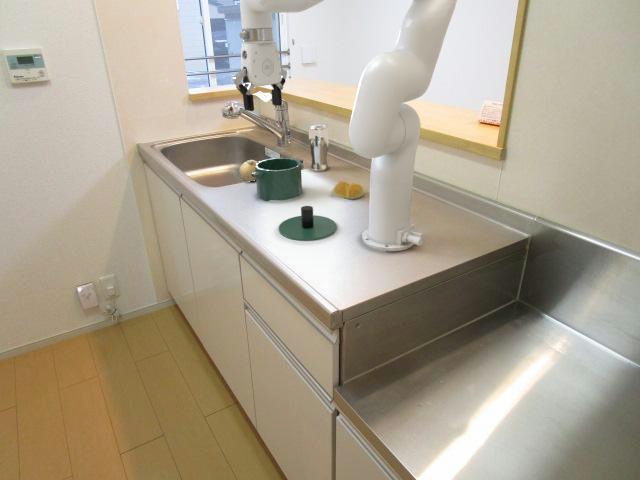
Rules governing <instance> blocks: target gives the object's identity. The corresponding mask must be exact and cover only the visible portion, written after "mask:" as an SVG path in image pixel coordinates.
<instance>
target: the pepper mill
mask: <svg viewBox="0 0 640 480" xmlns="http://www.w3.org/2000/svg"><path fill="white" fill-rule="evenodd" d="M329 144H330V134H329V126H328V125H326V124H312V125H309V126H308V145H309V150H310V155H311V165H310V169H311V171H313V172H326V171H327V170H328V169H329V165H328V151H329Z"/></svg>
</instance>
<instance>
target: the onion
mask: <svg viewBox="0 0 640 480" xmlns="http://www.w3.org/2000/svg"><path fill="white" fill-rule="evenodd" d="M258 162H259V161H256V160H255V159H250V160H246V161H244V162H243V163H242V164H241V165H240V167H239V169H238V170H239V171H238V173H239V176H240V178H241V179H242V180H244V181H247V182H251V181H252V182H254V181H256V178H255V177H252V176H251V173H254V172H255V164H256V163H258Z"/></svg>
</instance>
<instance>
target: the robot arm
mask: <svg viewBox="0 0 640 480" xmlns="http://www.w3.org/2000/svg"><path fill="white" fill-rule="evenodd" d="M324 1H325V0H238V2H239V12H240V13H239V14H240V22H241V24H240V25H241V31H240V33H239V38H240V39H242V43H241V46H240V47H241V48H240V71H238V72H237V73H236V74H235V75H234V76H233V77H232V81H233V83H234V85H235V88H236V89H237V90H238V92H239V93H240V94H241V95H242V101H243V109H244V111H247V112H254V111H255V102H254V101H255V100H254V95H253V94H252V92H253V90H254V88H255V87H263V86H269V85H270V86H271V87H272V89H271V104H272V105H273V106H277V107H281V106H282V105H283V98H282V97H283V96H282V91H283V89H284V85H285V83H286V78H287V75H288V71H287V70H286V69H284V68H282V65H281V59H280V58H281V57H280V51H279V48H278V44H277V42H276V41H274V28H273V26H274V25H273V14H281V13H291V14H293V13H301V12H304V11H307V10H309V9H311V8H313V7H314V6H317V5H319V4H320V3H322V2H324ZM457 2H458V0H412V2H411V4H410V6H409V8H408V9H407V11H406V13H405V15H404V17H403V18H402V22H401V25H400V27H399V33H398V37H397V39H396V42H395V45H394V48H393V50H392V51H388V52H383V53H380V54H378V55H375V56H374V57H373V58H371V60H370V61H369V62H368V63H367V65H366V66H365V68H364V70H363V71H362V73H361V76H360V81H359V82H358V88H357V92H356V95H355V100H354V104H353V108H352V113H351V117H350V120H349V121H350V122H349V127H348V139H349V144H350V147H351V148H352V150H353V152H355V153H356V154H357V155H358V156H360V157H361V158H364V159H371V162H370V169H369V170H370V172H369V173H370V174H369V175H370V176H369V207H368V211H369V212H368V213H369V214H368V228H366V230H364V231H363V232H362V235H361V237H362V238H361V239H362V240H361V241H362V242H363V243H364V244H365V245H367V246H368V247H371V248H374V249H376V250H382V251H386V252H401V251H405V250H409V249H411V248H412V247H413V246H414V245H415V246H418V247H421V246H422V244H423V243H424V242H423V241H424V239H423V238H424V234H423V233H422V232H417V231H415V224H414V223H412V222H411V213H412V198H413V183H414V173H415V171H414V170H415V162H416V154H417V149H418V146H419V141H420V136H421V127H422V125H421V120H420V116H419V114H418V112H417V111H416V109H414V108H413V106H411V105H409V104H407V102H411V101H414V100H416V99H419V98H420V97H422V96H424V94H426V92H427V91H428V89H429V87H430V84H431V82H432V78H433V75H434V73H435V69H436V67H437V64H438V63H437V62H438V60H439V57H440V54H441V51H442V47H443V44H444V41H445V37H446V35H447V32H448V28H449V26H450V22H451V20H452V18H453V14H454V12H455V9H456V5H457Z"/></svg>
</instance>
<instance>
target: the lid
mask: <svg viewBox="0 0 640 480" xmlns="http://www.w3.org/2000/svg"><path fill="white" fill-rule="evenodd" d="M337 228H338V227H337V223H336V222H335V221H334V220H333V219H332V218H329V217H327V216H322V215H315V214H314V207H313V206H312V205H304V206H301V207H300V215H297V216H293V217H290V218H287V219H285V220H283V221H282V222H281V223H279V225H278V232H279V234H280V235H281V236H283V237H284V238H287V239H290V240H294V241H301V242H302V241H303V242H306V241H307V242H309V241H310V242H311V241H318V240H323V239H326V238H328V237H331V236H332V235H334V233H336V231H337Z"/></svg>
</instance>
